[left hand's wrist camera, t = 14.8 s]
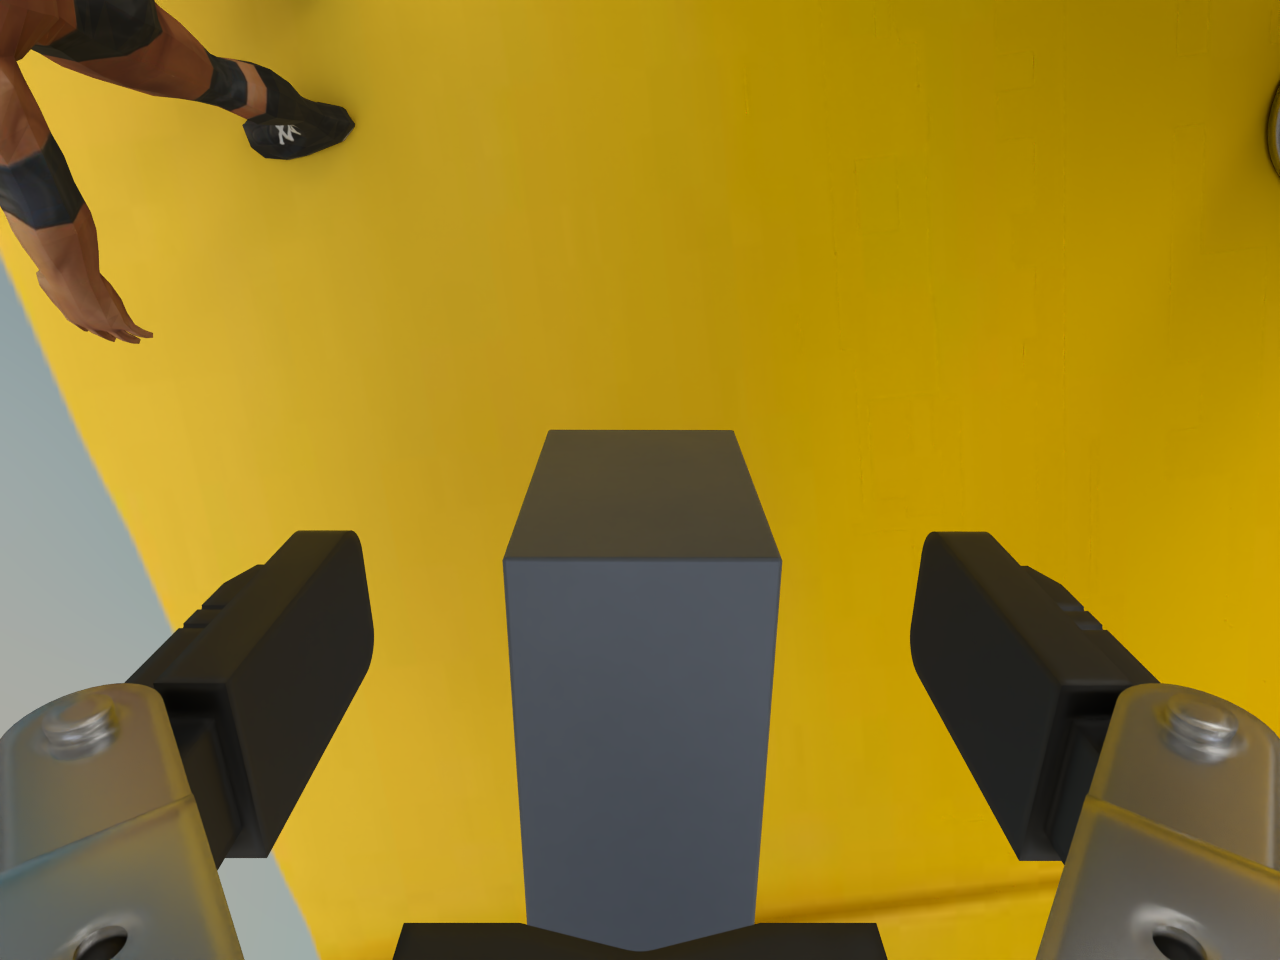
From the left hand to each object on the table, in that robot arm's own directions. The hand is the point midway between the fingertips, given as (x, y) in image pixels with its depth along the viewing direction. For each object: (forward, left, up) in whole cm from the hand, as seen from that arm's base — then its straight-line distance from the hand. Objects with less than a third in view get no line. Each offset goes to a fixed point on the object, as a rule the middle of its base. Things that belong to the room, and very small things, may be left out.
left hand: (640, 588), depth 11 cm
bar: (+15, 0, -12) cm, 19 cm away
